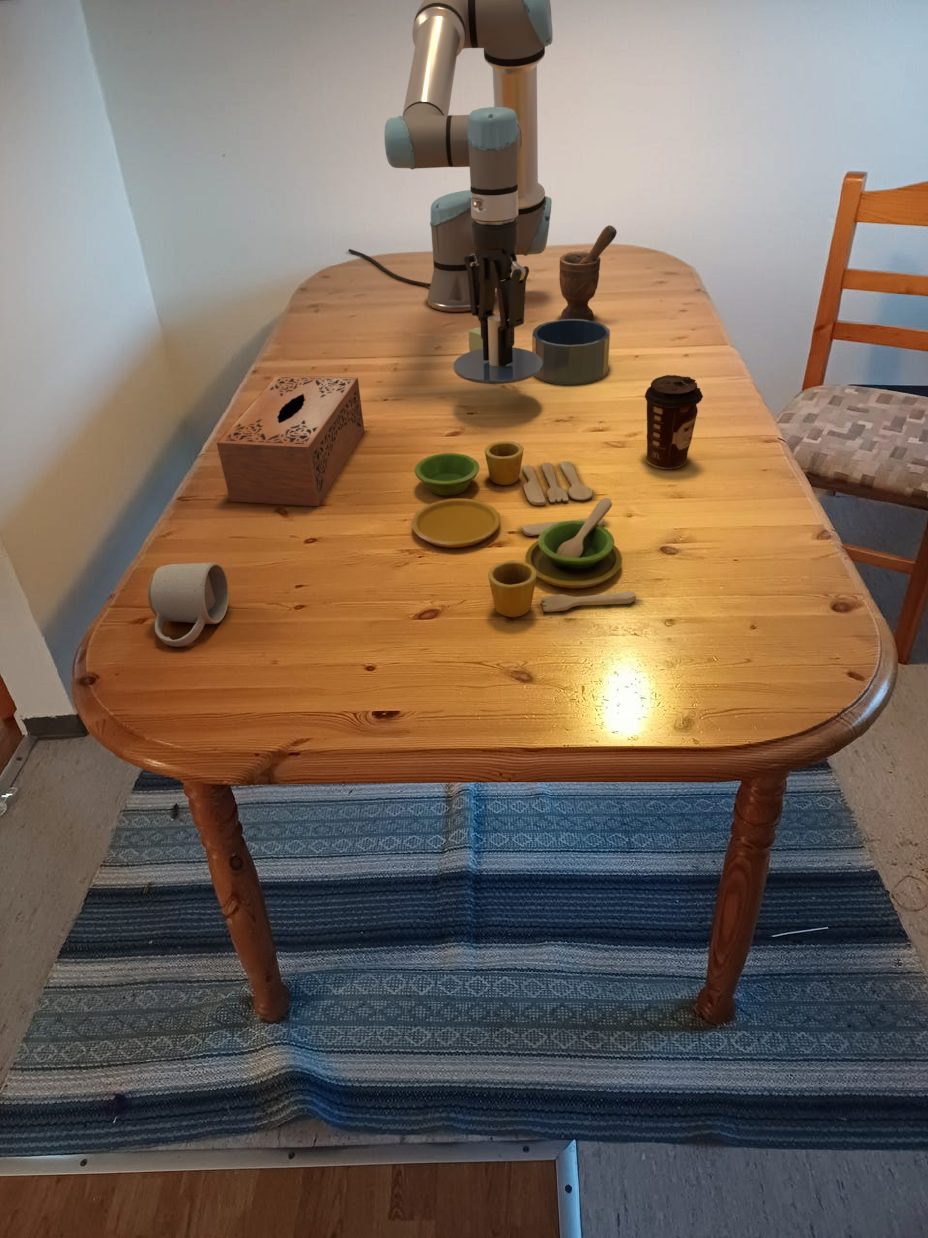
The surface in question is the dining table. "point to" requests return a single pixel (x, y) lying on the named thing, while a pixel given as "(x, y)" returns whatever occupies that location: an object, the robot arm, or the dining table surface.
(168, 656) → the dining table surface
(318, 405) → the tissue box cover
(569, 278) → the mortar and pestle
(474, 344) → the block
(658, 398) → the coffee cup
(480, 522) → the tableware set
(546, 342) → the bowl
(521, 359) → the bowl lid
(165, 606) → the ceramic mug
